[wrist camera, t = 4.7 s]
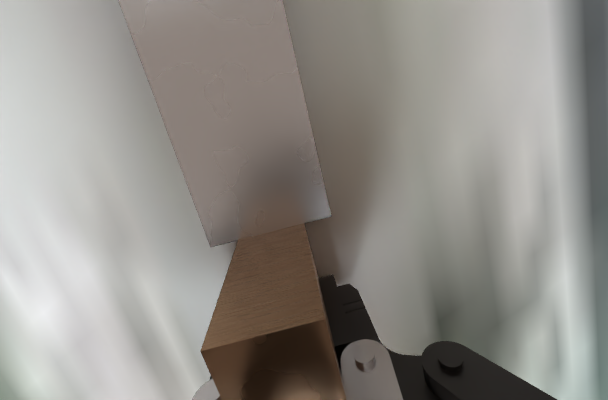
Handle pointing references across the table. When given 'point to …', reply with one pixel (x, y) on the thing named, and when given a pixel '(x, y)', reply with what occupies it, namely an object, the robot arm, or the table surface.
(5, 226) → the table surface
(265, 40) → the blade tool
